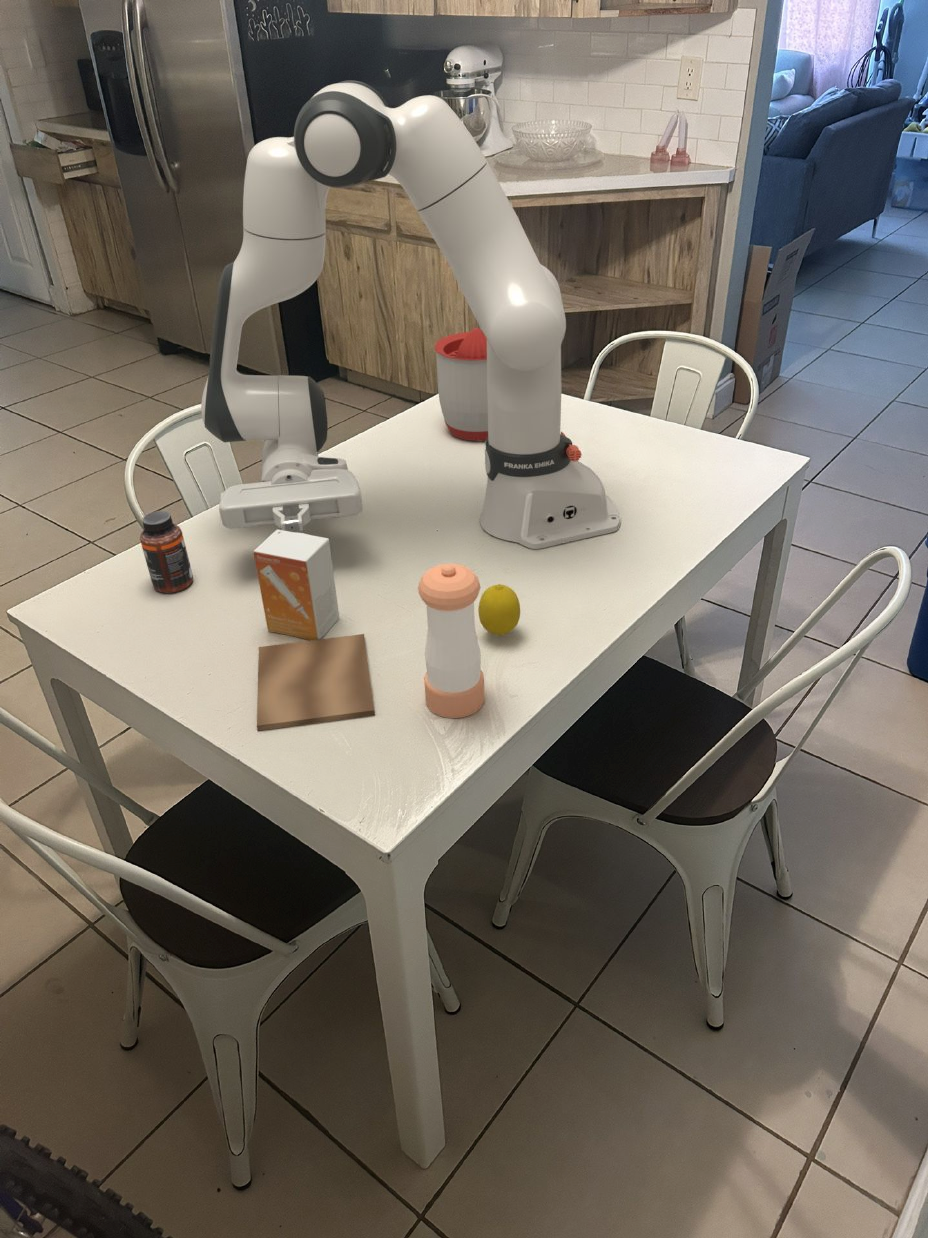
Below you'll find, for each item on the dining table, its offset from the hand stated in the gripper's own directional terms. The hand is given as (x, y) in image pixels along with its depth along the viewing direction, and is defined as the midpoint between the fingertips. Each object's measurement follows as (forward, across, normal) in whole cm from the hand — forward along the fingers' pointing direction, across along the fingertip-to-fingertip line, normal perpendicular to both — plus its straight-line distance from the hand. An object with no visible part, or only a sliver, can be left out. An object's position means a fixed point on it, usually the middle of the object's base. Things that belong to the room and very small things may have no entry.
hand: (292, 527), depth 128 cm
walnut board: (+21, +1, +11) cm, 24 cm away
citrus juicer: (-51, +36, +11) cm, 63 cm away
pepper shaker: (+28, +18, +11) cm, 35 cm away
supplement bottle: (-7, -19, +11) cm, 23 cm away
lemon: (+16, +26, +11) cm, 33 cm away
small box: (+8, 0, +11) cm, 14 cm away
